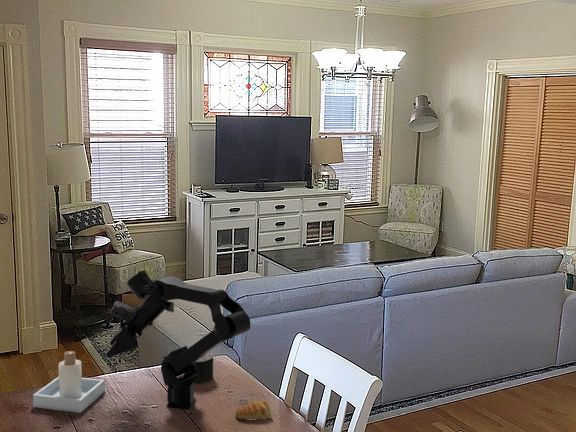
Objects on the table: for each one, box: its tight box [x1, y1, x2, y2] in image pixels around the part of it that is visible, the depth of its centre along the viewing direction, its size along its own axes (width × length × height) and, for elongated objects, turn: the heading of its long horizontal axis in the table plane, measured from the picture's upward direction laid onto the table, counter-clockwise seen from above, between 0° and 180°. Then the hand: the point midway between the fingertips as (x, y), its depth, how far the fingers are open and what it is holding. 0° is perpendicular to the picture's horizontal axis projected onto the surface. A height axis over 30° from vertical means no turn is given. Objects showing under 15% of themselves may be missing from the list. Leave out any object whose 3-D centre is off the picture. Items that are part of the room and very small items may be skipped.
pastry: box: [234, 399, 272, 421], centre depth 175 cm, size 9×7×4 cm
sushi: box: [194, 351, 214, 384], centre depth 198 cm, size 8×8×8 cm
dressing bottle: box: [58, 350, 83, 399], centre depth 181 cm, size 6×6×13 cm
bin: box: [32, 376, 106, 414], centre depth 182 cm, size 14×14×4 cm
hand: (108, 350), depth 183 cm, fingers open, 9 cm apart
